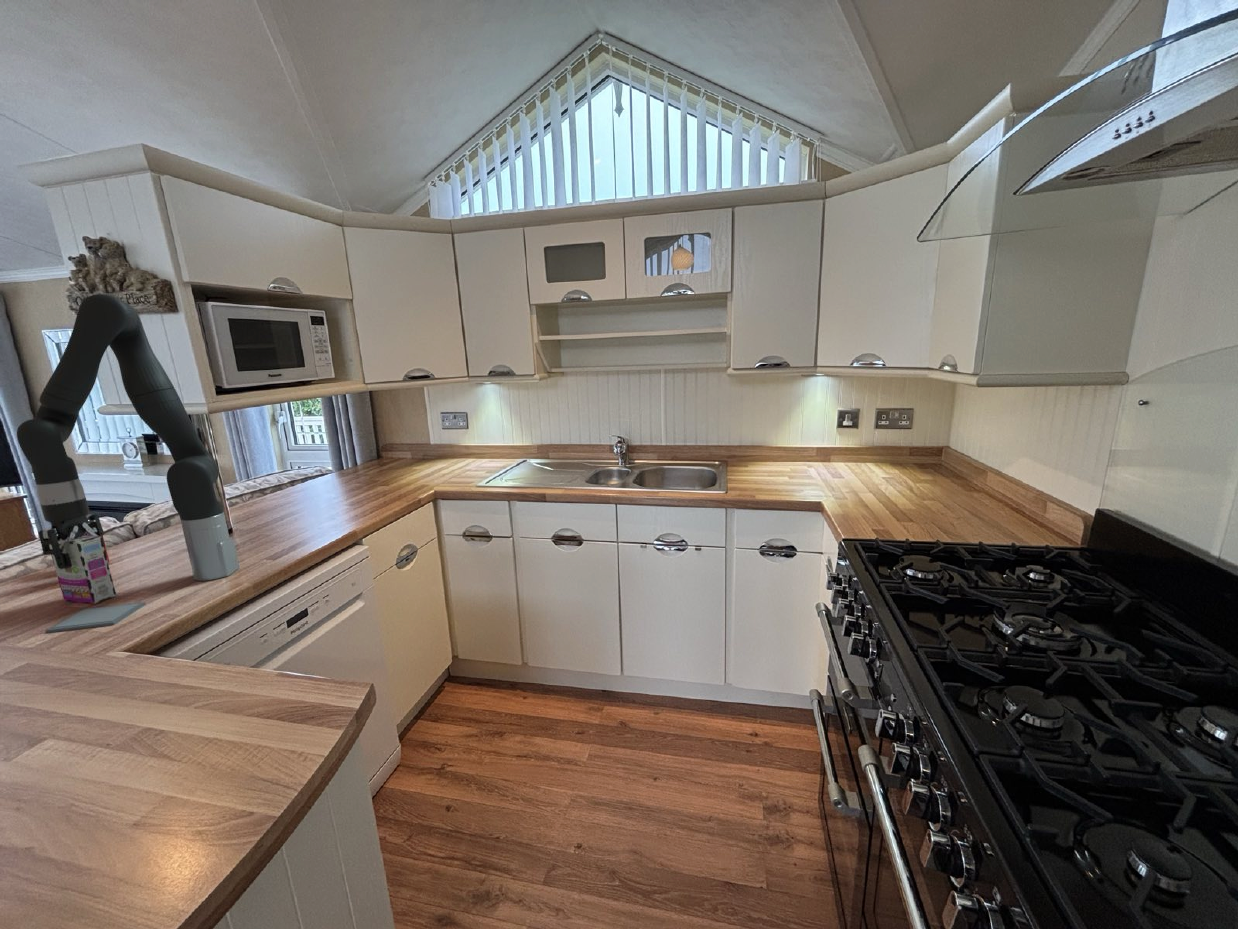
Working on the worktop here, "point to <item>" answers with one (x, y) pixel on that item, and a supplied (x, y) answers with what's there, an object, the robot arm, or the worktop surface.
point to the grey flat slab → (96, 617)
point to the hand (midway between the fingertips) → (80, 561)
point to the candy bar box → (86, 572)
